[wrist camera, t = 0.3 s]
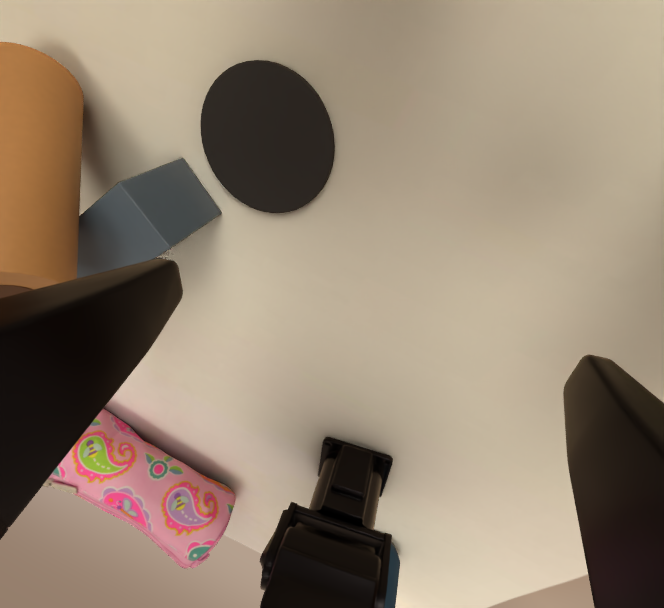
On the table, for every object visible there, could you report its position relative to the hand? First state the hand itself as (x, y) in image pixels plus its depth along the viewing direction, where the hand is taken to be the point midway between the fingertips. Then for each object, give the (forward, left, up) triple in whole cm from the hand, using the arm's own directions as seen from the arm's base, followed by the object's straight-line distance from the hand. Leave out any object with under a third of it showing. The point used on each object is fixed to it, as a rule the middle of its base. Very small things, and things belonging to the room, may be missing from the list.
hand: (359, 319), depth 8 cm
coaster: (0, +8, -15) cm, 17 cm away
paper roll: (-3, +19, -15) cm, 24 cm away
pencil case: (-37, +22, -15) cm, 45 cm away
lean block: (-6, +16, -15) cm, 23 cm away
